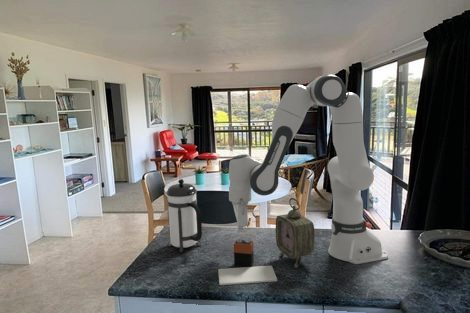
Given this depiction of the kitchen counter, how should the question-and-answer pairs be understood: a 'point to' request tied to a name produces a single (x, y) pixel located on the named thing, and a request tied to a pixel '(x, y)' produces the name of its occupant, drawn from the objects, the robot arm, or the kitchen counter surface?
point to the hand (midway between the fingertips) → (240, 229)
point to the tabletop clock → (294, 234)
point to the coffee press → (183, 216)
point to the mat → (246, 275)
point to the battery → (243, 253)
